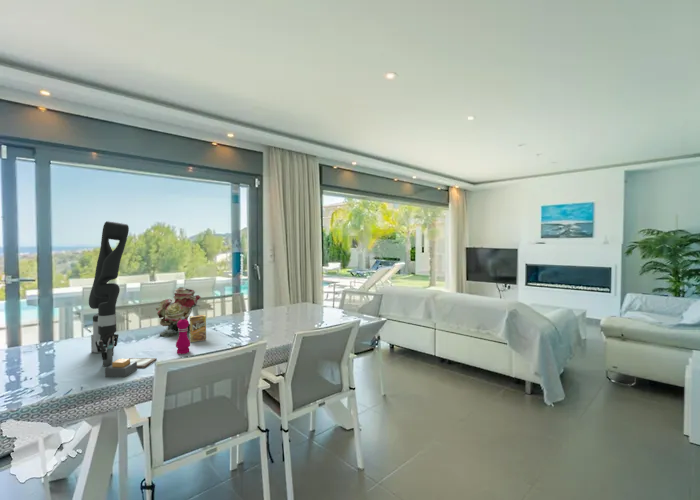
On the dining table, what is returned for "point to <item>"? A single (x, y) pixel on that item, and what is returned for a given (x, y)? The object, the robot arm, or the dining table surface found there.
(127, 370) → the button housing
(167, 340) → the dining table surface
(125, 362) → the button
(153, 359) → the board
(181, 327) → the pepper mill
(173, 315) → the rose bouquet
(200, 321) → the candy box
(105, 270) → the robot arm
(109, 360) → the marker
